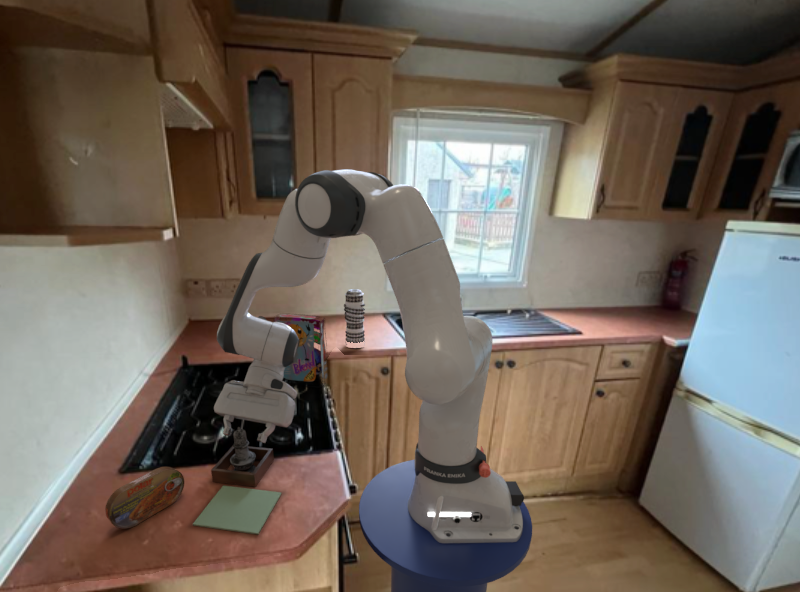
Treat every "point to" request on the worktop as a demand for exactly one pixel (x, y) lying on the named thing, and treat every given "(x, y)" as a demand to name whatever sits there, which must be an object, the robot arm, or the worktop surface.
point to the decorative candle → (354, 316)
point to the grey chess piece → (242, 453)
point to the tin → (144, 497)
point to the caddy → (240, 477)
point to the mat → (238, 509)
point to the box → (306, 348)
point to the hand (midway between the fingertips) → (243, 438)
